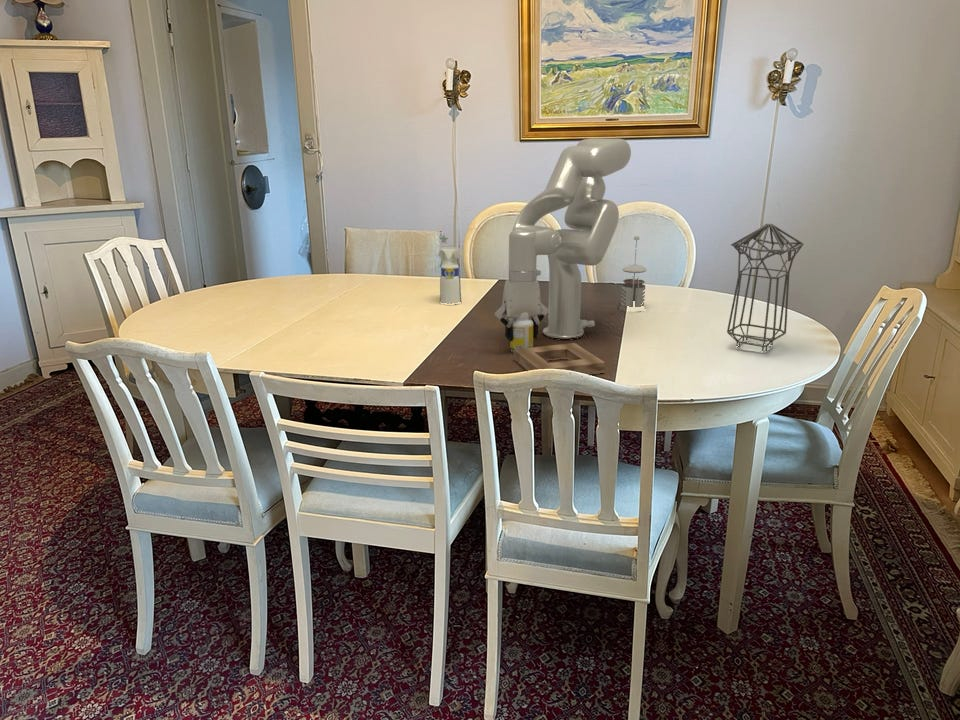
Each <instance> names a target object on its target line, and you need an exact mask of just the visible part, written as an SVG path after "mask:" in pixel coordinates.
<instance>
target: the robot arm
mask: <svg viewBox="0 0 960 720" xmlns="http://www.w3.org/2000/svg"><path fill="white" fill-rule="evenodd" d="M631 156H632V150H631V146H630V144H629V143H628V142H627V140H625V139H623V138H603V137H602V138H600V137H599V138H596V137H594V138H592V137H591V138H584V139H582V140H580V141H579V142H578V143H577V144H576V145H571V146H567V147H566V148H564V149H563V150H562V151H561V153H560V155H559V157H558V159H557V161H556V164H555V167H554V169H553V171H552V173H551V175H550V177H549V180H548V183H547V184H546V187H545V188H544V190H543V191H542V192H540V193H539V194H537V195H536V196H535V197H534V198H533V199H531V200H530V201H529V202H528V203H527V204H525V206H524V207H523V208H522V209H521V211H520V212H519V214H518V216H517V218H516V220H515V223H514V225H513V227H512V230H511V231H510V233H509V234H508V235H509V236H508V279H507V280H505V282H504V287H503V293H502V303H501V306H500V307H499V308H497V310H496V311H495V312H494V317H496V318H497V320H499V321H500V322H501V323H502V324H503V325H504V327H505V328H504V332H505V334H504V335H505V338H506V340H507V341H509V342H510V341H513V328H512V327H511V325H512V323H513V320H514V318H518V317H520V316H521V314H522V313H528V316H530V317H529V318H530V319H531V320H532V321H533V340H535V339H537V337H538V334H539V326H540V324H541V322H542V320H544V318H545V316H547V317H548V318H547V326H546V327H544V328H543V329H542V334H543V333H544V334H545V335H547V336H550V337H554V338H571V337H576V336H580V335H582V334H583V333H584V331H585V329H586V328H592V327H595V325H596V324H595V320H594V319H593V320H587V319H581V302H582V274H581V270H580V268H579V266H578V265H581V266H597V265H599V264H600V263H601V262H602V261H603V259H604V257H605V254H606V253H607V250H608V248H609V246H610V243H611V241H612V239H613V236H614V234H615V232H616V229H617V228H618V224H619V216H620V212H619V211H620V210H619V208H618V204H616V203H615V202H614V201H612V200H610V199H604V196H605V193H606V184H605V181H604V179H603V178H604V177H607V176H610V175H612V174H614V173H616V172H618V171H621V170H623V169H624V168H626V166H627V165H629V163H630V160H631ZM564 208H566V210H565V214H564V223H565V225H566V226H567V228H560V229H555V228H553V227H547V226H541V225H536V224H537V222H539V220H541V219H542V218H543V217H545V216H546V215H548V214H550V213H553V212H557V211H559V210H561V209H564ZM568 228H569V229H568ZM538 256H547V260H548V273H549V274H548V276H549V277H548V278H549V279H548V307H547V306H546V305H544V304H543V303H542V300H541V299H542V298H541V297H542V296H541V289H540V284H539V280H538V276H541V275H542V271H541V270H538V269H537V257H538ZM503 315H506V316H505V317H504V316H503Z"/></svg>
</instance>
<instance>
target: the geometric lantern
mask: <svg viewBox="0 0 960 720" xmlns="http://www.w3.org/2000/svg"><path fill="white" fill-rule="evenodd" d="M768 231H769V232H770V233H769V235H770V240H766V237H767V234H768ZM783 234H784V235H783ZM762 236H763V238H762V239H761V237H762ZM773 236H774V237H773ZM786 236H787V237H788V238H790V239H792V240H793V241H789V240H788V239H787V238H786ZM774 239H775V240H776V241H774ZM752 240H753V241H754V242H753V243H752V245H750V242H751V241H752ZM765 243H766V244H771V248H768V247H767V246H766V245H765ZM756 244H759V245H760V248H754V246H755V245H756ZM749 245H750V246H749ZM774 245H778V246H779V248H780V249H778V248H777V249H773V248H774ZM731 246H732V247H733V248H734V249H735V250H736V251H737V252H738V261H737V263H738V264H737V265H738V266H737V267H738V268H737V278H736V279H737V280H736V285H735V290H734V295H733V299H732V304H731V310H730V315H729V319H728V326H727V329H726V332H727V335H729V336H730V337H731V338H732V339H733V340H734V341H735V342H736V345H735V347H736V346H738V345H739V346H738V347H740V346H741V345H740V343H742V344H745V345H750V346H755V347H759V348H760V347H762V348H761V352H762V351H763V352H765V351H767V349H768V347H769V346H768V345H769V344H770V345H774V341H776V340H777V339H780V338H781V337H783V336H785V335H786V334H787V325H788V324H787V323H788V306H789V304H788V303H789V287H790V272H791V269H792V265H793V261H794V259H795V257H796V256H797V254H798V253H799V252H800V251H801V249H802V247H803V246H804V243H803V242H802V241H800V240H799V239H797V238H795V237H794V236H792V235H791V234H788V233H787V232H786V231H784V230H782V229H781V228H779V227H778V226H777V225H774V224H772V223H766V224H764V225H763V226H762V227H760V228H758V229H756V230H754V231H753V232H751V233H749V234H747V235H745V236H743V237H741V238H740V239H738V240H736V241H735V242H733V243H731V244H730V247H731ZM784 247H785V248H786V249H785V250H784ZM763 248H764V249H763ZM747 251H748V253H747ZM751 251H756V252H758V257H759V258H758V257H757V258H753V257H752V256H751V255H752V253H751ZM761 252H762V253H763V252H764V253H765V252H766V255H765V256H764V257H762V254H761ZM792 252H793V254H792ZM785 253H787V259H786V260H785V262H784V259H783V256H782V255H784V254H785ZM741 255H745V256H746V258H747V261H748V262H747V263H746V264H745V266H744V267H743V268H742V269H741ZM775 255H778V256H780V258H781V261H782V264H783V265H782V266H781V268H780V269H774V268H773V269H772V268H767V266H766V264H765V260H766V259H768V258H771V257H772V256H773V257H774V256H775ZM751 261H760V262H759V263H758V264H757V266H753V265H752V263H751ZM787 262H790V263H789V267H788V269H787V267H786V264H787ZM761 264H762V266H763V267H760V266H761ZM748 265H750V266H748ZM747 266H748V267H747ZM783 268H785V270H784V269H783ZM747 270H749V273H743V272H744V271H747ZM752 270H755V274H752ZM759 270H763V271H764V270H765V271H766V273H767V276H765V275H764V276H763V275H758V274H759ZM770 271H775V272H778V273H777V275H776V276H771V273H770ZM782 272H783V273H785V274H783V275H780V273H782ZM779 275H780V276H779ZM743 276H747V277H748V278H747V283H746V289H745V294H744V300H743V305H742V308H741V309H742V310H741V313H740V314H741V315H740V319H739V324H738V325H736V320H737V319H736V318H737V314H738V313H737V311H738V307H739V306H738V304H739V297H740V291H741V283H742V277H743ZM751 277H754V283H753V291H752V296H751V303H750V310H749V317H748V322H747V323H743V318H744V313H745V310H746V309H745V307H746V304H747V298H748V294H749V293H748V292H749V287H750V281H751ZM784 277H785V278H784ZM758 278H761V279H769V282H768V283H769V284H768V290H767V291H768V292H767V300H766V301H767V302H766V312H765V313H766V314H765V320H764V325H758V324H757V325H756V324H753V323H751V321H752V316H753V315H752V314H753V309H754V302H755V301H754V300H755V296H756V295H755V294H756V288H757V282H758ZM781 278H784V286H783V292H782V293H783V294H782V302H781V303H782V304H781V310H780V316H779V317H780V318H779V326H778V328H777V326H776V325H777V323H776V322H777V311H778V297H779V296H778V295H779V283H780V282H779V280H780V279H781ZM773 280H776V282H775V283H776V285H775V297H774V312H773V326H772V327H769V326H768V318H769V310H770V309H769V308H770V301H771V291H772V281H773ZM784 307H785V308H784ZM784 309H785V312H784ZM733 312H734V315H733ZM783 316H784V326H783V327H784V328H783V329H784V330H783V329H782V325H783V324H782V323H783ZM732 319H733V320H732ZM731 324H732V326H731ZM742 326H744V327H746V334H745V331H744V330H743V327H742ZM731 327H732V328H731ZM749 327H752V328H753V327H754V328H760V329H763V330H764V331H763V336H757V335H751V334H749ZM737 328H740V330H741V333H742V334H738V333H735V330H736V329H737ZM767 330H772V336H771V337H767ZM779 332H781V334H779V335H778V336H777V334H778V333H779ZM737 337H740V338H737ZM741 339H742V341H741ZM748 339H750V340H755V341H758V342H759V341H760V342H763V345H761V344H754V343H747V342H745V341H746V340H747V341H748ZM743 341H744V342H743ZM766 342H768V343H766ZM764 344H767V345H764ZM738 347H737V348H738ZM764 348H765V350H764ZM767 352H768V351H767Z"/></svg>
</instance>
